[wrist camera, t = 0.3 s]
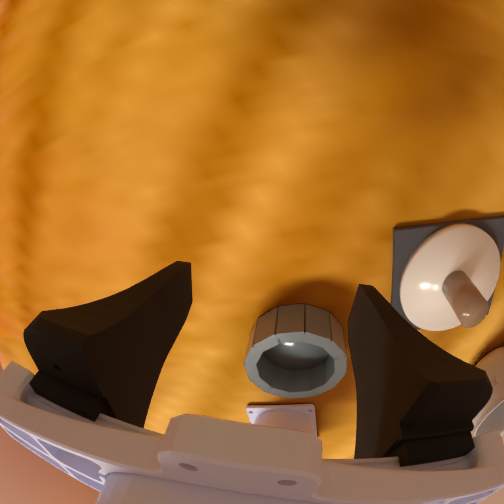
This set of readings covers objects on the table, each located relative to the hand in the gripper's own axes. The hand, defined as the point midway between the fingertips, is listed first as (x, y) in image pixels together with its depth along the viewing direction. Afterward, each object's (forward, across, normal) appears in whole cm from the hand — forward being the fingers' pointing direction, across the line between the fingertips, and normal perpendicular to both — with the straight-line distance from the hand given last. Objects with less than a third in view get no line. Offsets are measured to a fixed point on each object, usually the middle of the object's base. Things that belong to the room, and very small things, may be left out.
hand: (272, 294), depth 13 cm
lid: (+9, -15, +3) cm, 18 cm away
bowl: (+10, -3, +12) cm, 16 cm away
